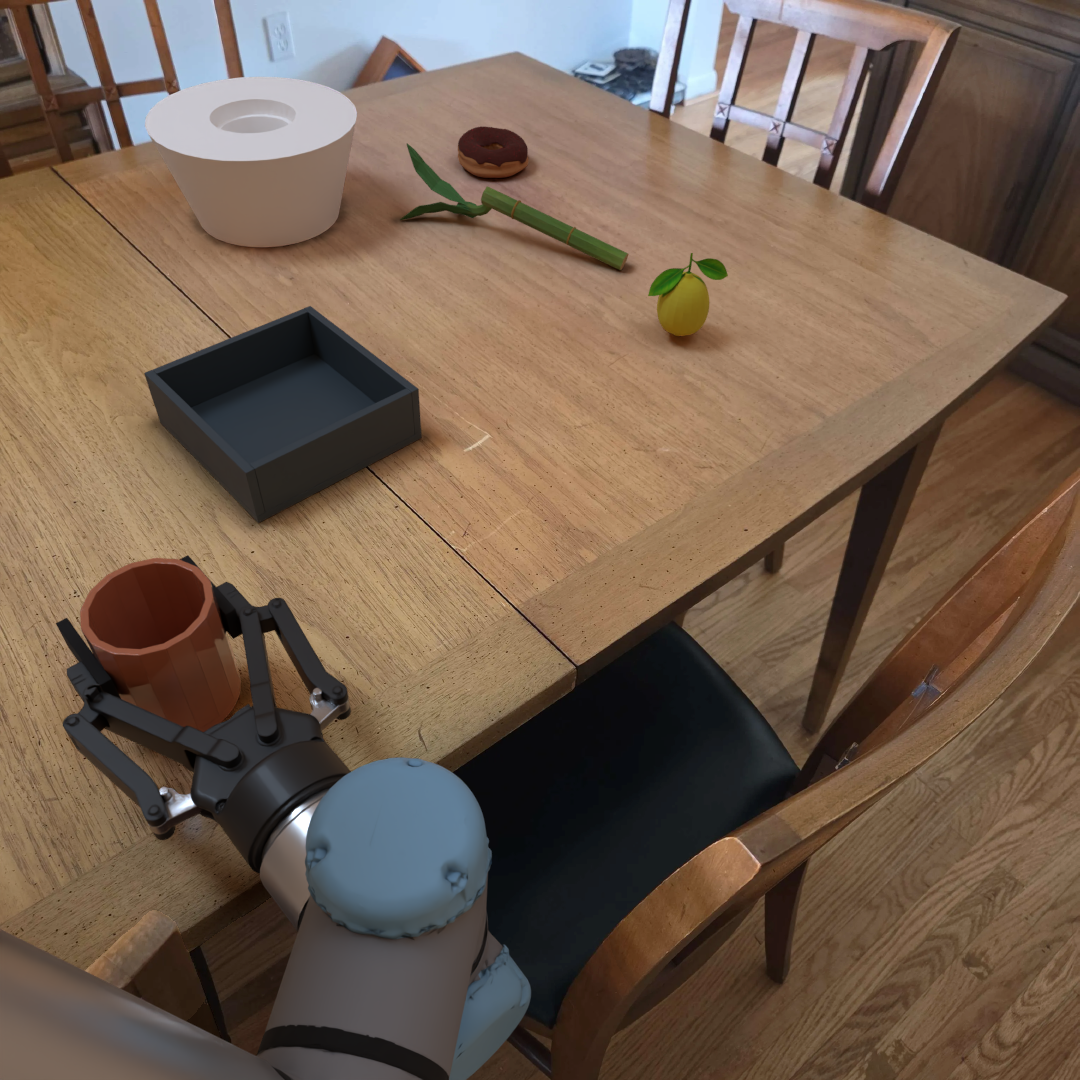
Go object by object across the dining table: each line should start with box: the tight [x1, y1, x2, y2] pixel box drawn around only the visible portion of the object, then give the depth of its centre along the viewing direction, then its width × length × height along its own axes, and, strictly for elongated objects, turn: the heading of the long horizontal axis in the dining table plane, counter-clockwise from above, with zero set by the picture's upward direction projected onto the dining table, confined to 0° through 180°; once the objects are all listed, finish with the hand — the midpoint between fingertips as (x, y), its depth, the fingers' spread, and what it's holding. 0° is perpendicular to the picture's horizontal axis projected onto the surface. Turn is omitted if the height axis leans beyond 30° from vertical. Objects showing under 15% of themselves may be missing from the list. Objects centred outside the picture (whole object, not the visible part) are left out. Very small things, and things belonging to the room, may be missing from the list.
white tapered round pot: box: [144, 76, 358, 248], centre depth 113 cm, size 24×24×12 cm
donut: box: [457, 126, 530, 179], centre depth 127 cm, size 10×10×4 cm
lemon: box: [647, 252, 729, 337], centre depth 98 cm, size 7×6×10 cm
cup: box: [79, 557, 242, 732], centre depth 63 cm, size 8×8×10 cm
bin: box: [143, 305, 423, 524], centre depth 86 cm, size 18×18×6 cm
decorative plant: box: [399, 143, 629, 271], centre depth 113 cm, size 6×8×30 cm
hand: (129, 600), depth 64 cm, fingers closed on cup, 8 cm apart
